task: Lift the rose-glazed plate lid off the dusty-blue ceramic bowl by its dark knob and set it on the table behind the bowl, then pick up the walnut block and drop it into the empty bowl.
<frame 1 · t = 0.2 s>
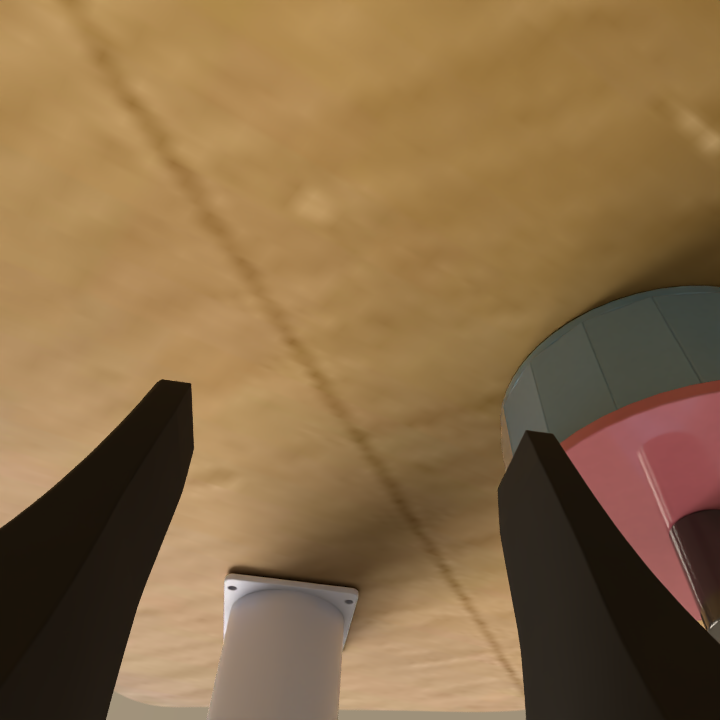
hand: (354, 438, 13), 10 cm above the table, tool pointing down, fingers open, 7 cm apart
lid: (698, 516, 22), point 5 cm above the table, touching bowl
bowl: (649, 409, 26), on the table
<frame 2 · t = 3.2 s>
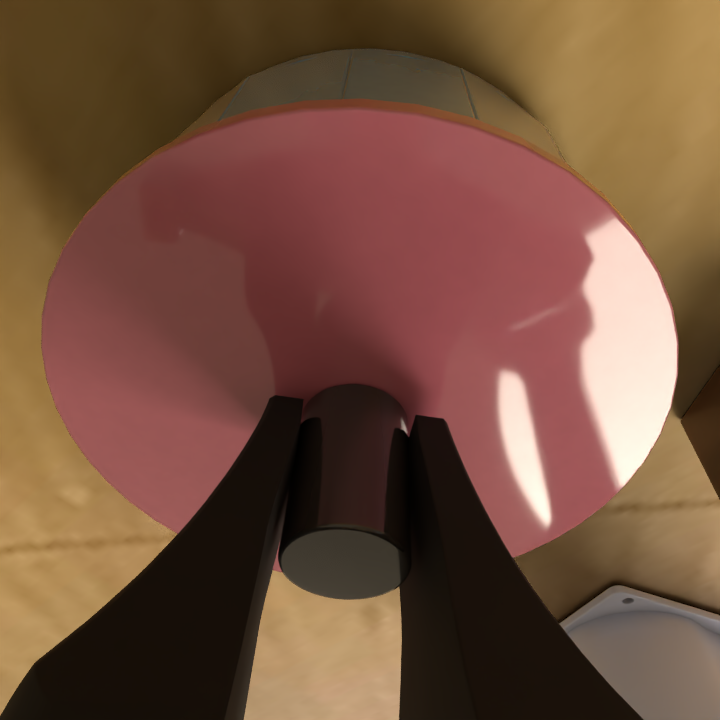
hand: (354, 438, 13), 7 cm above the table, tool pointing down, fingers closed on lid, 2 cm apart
lid: (355, 406, 14), point 6 cm above the table, touching bowl, gripper
bowl: (365, 278, 18), on the table
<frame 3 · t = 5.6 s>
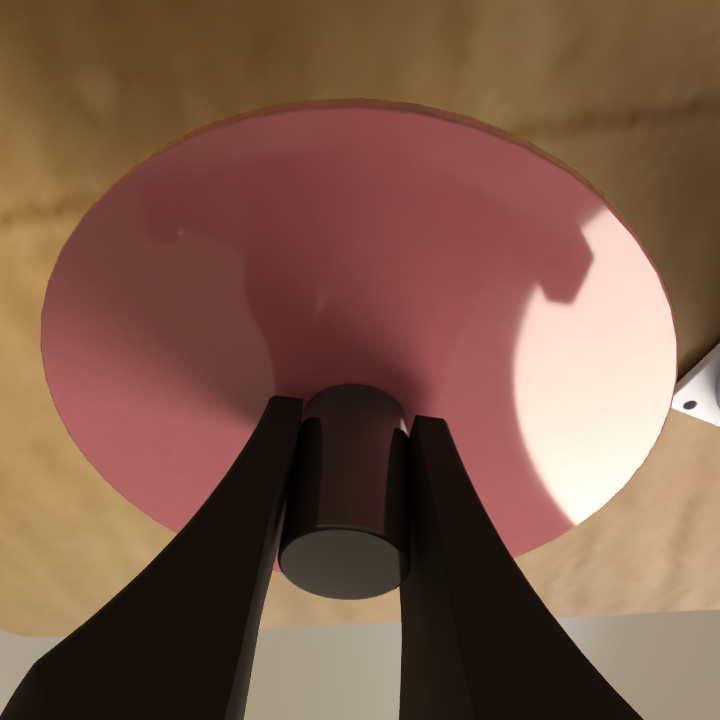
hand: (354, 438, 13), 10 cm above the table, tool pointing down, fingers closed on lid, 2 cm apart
lid: (355, 406, 14), point 9 cm above the table, touching gripper
when the fingers open (2 cm above the table, at t = 8.0 s): lid stays where it is, point 1 cm above the table.
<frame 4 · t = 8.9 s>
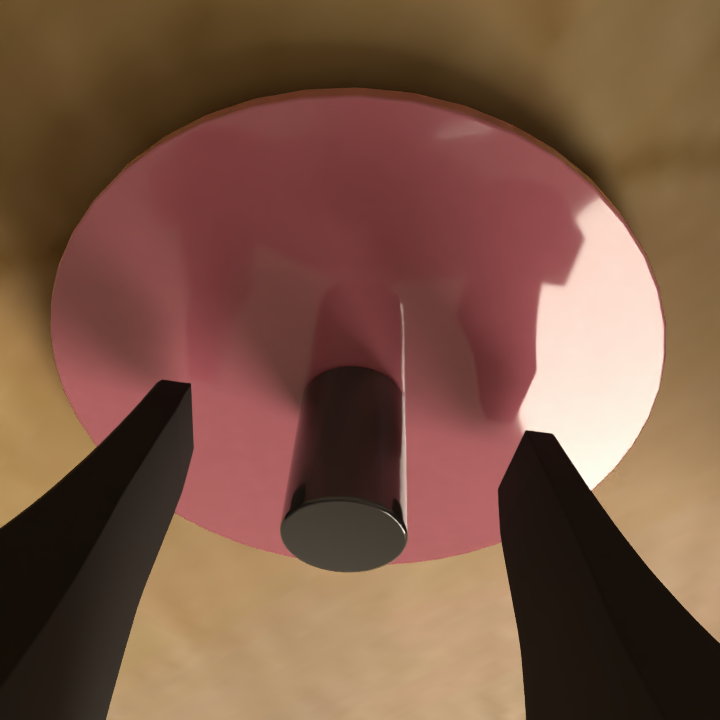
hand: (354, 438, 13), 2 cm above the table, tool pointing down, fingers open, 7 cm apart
lid: (354, 389, 14), point 1 cm above the table
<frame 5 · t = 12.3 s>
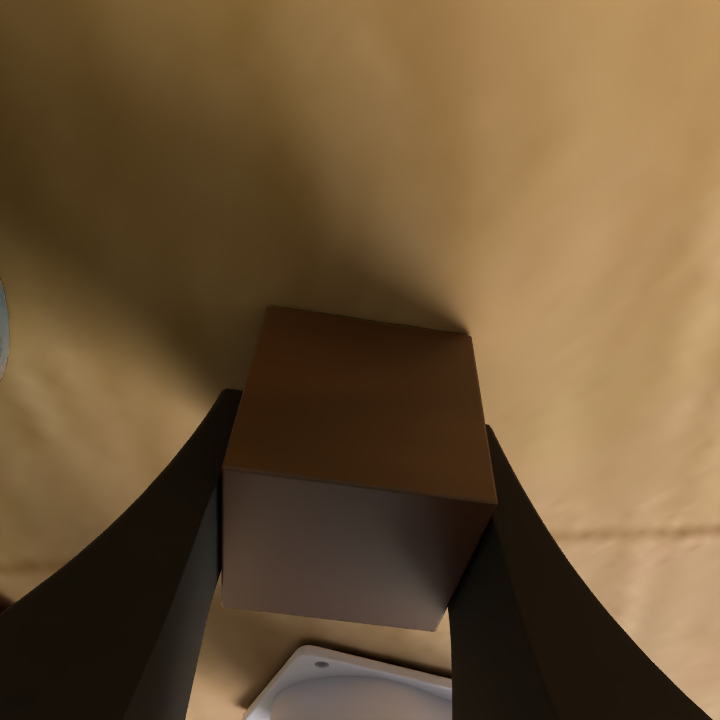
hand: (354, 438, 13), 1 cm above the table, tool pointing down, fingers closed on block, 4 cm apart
block: (355, 394, 14), on the table, touching gripper
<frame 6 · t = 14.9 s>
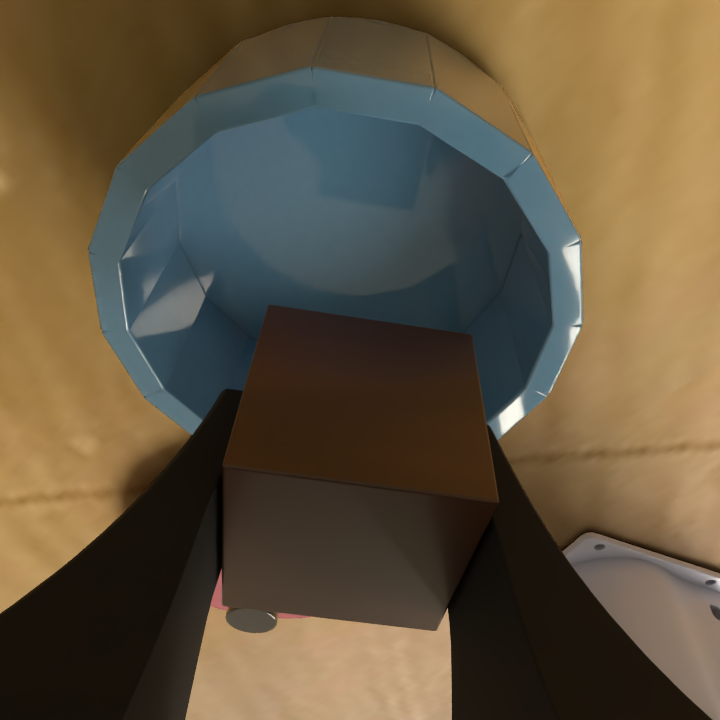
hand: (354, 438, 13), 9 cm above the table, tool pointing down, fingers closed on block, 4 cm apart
lid: (265, 544, 31), point 1 cm above the table
block: (356, 393, 14), point 8 cm above the table, touching gripper
bowl: (348, 230, 20), on the table
when the fingers open (2 cm above the table, at t = 17.5 s): block stays where it is, resting on bowl.
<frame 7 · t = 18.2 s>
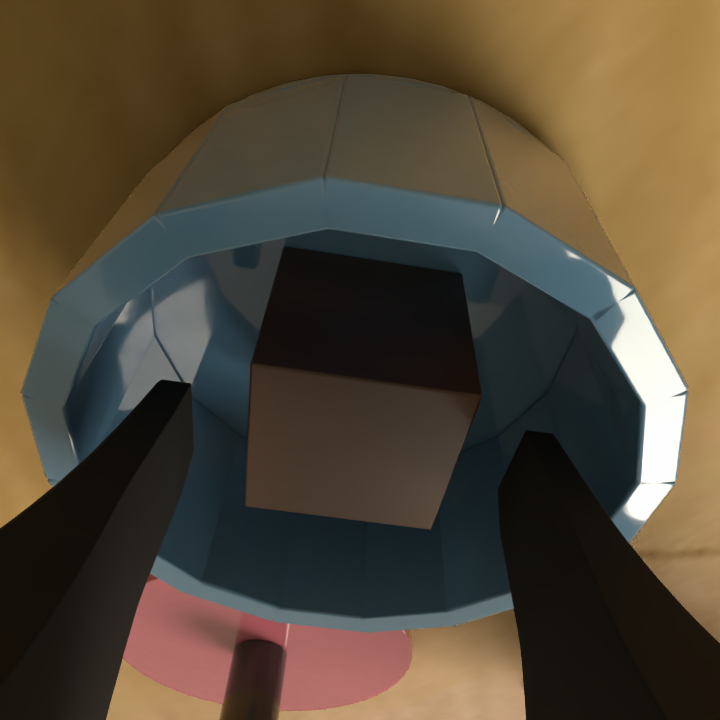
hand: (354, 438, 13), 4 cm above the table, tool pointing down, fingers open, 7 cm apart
lid: (262, 640, 27), point 1 cm above the table
block: (360, 330, 16), point 1 cm above the table, touching bowl
bowl: (362, 321, 16), on the table
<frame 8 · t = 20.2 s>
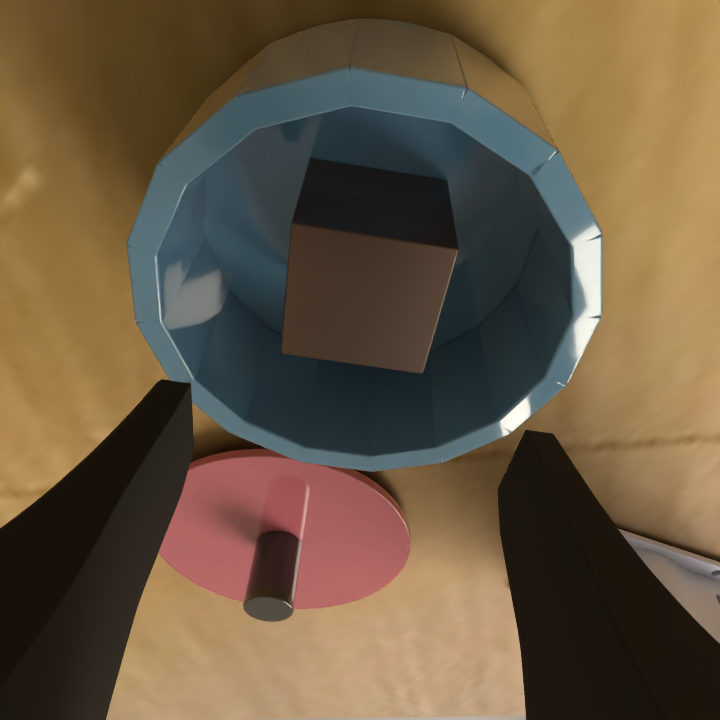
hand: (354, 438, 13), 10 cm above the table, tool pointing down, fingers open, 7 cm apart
lid: (280, 535, 32), point 1 cm above the table
block: (368, 231, 20), point 1 cm above the table, touching bowl
bowl: (369, 225, 21), on the table
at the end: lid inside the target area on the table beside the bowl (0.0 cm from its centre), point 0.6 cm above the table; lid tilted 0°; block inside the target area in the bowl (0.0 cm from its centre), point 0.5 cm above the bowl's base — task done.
